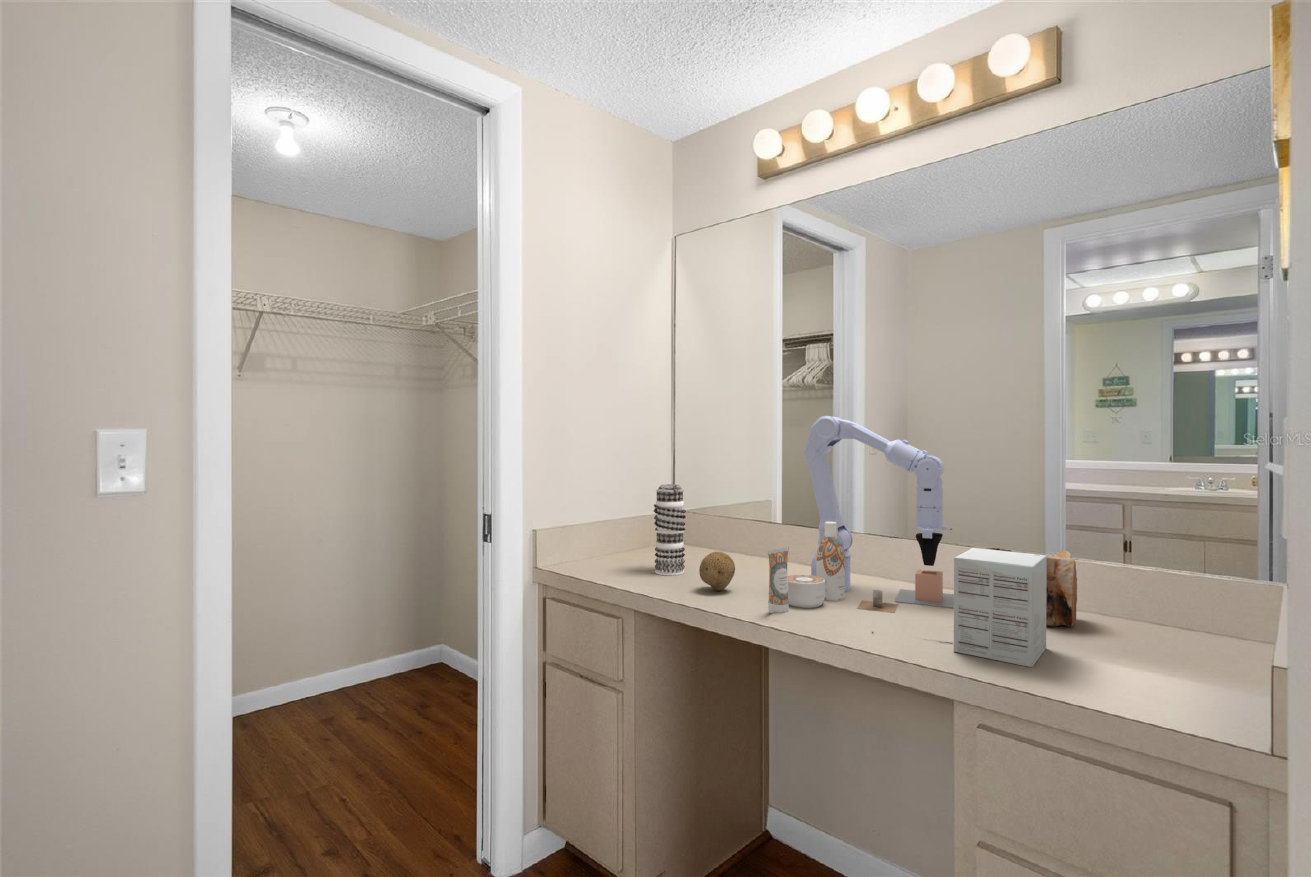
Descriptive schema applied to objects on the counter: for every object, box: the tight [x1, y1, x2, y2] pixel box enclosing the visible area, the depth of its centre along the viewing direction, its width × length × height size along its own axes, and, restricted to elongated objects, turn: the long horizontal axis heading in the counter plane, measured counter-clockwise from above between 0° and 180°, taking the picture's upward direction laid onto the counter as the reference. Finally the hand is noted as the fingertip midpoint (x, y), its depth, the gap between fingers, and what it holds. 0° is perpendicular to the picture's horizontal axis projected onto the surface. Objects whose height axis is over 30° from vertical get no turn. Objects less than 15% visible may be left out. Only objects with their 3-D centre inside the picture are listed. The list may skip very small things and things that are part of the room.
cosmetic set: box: [767, 522, 846, 614], centre depth 153 cm, size 25×9×19 cm, turn 128°
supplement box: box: [953, 547, 1047, 668], centre depth 123 cm, size 13×13×18 cm
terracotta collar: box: [914, 569, 944, 602], centre depth 157 cm, size 6×6×6 cm
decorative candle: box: [653, 483, 687, 576], centre depth 190 cm, size 9×9×25 cm
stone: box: [1045, 550, 1078, 628], centre depth 139 cm, size 14×9×15 cm, turn 127°
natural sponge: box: [699, 551, 736, 592], centre depth 168 cm, size 9×9×10 cm
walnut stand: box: [856, 589, 899, 614], centre depth 150 cm, size 8×8×4 cm
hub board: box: [894, 588, 954, 610], centre depth 157 cm, size 14×13×6 cm
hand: (929, 564), depth 157 cm, fingers closed
